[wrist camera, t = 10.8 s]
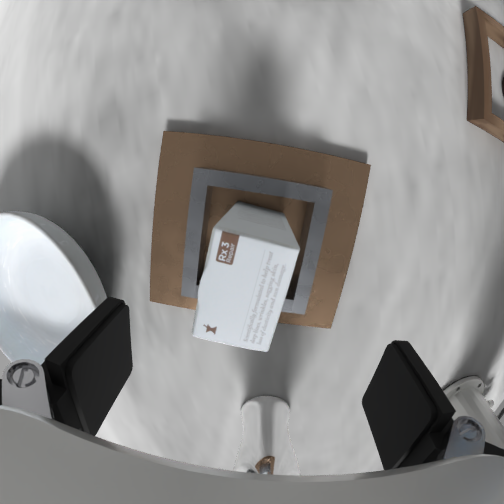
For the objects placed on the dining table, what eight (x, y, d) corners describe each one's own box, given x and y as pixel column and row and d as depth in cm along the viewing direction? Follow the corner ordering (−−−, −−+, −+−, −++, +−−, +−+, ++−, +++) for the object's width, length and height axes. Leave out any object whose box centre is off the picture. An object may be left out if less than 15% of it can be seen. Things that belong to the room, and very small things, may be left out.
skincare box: (267, 275, 26) (273, 360, 15) (218, 264, 26) (188, 341, 14) (285, 209, 24) (310, 250, 13) (233, 196, 24) (210, 226, 13)
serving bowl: (31, 351, 32) (7, 376, 25) (-9, 212, 26) (-45, 224, 19) (149, 368, 31) (131, 408, 25) (112, 187, 25) (72, 197, 19)
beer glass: (232, 395, 32) (220, 503, 18) (290, 388, 31) (302, 498, 17) (243, 429, 34) (238, 524, 19) (295, 423, 33) (306, 520, 19)
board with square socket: (366, 164, 24) (384, 165, 20) (328, 323, 29) (337, 345, 25) (167, 132, 23) (151, 127, 20) (153, 296, 28) (139, 315, 24)
